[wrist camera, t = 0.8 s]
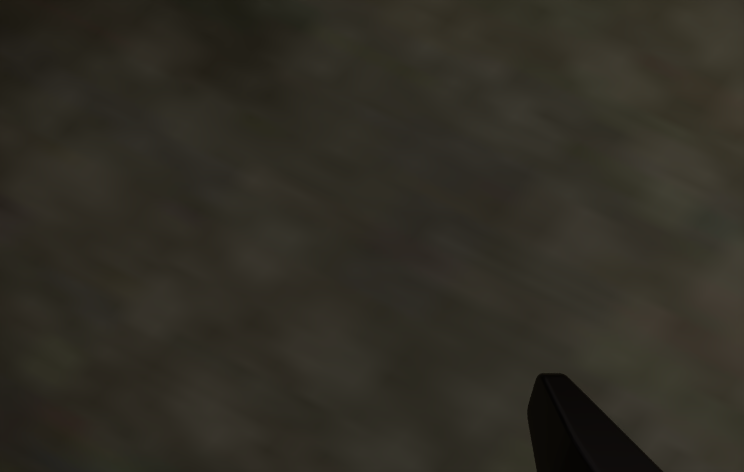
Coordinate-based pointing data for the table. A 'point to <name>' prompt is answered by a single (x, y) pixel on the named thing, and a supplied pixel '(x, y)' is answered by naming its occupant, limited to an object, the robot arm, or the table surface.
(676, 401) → the table surface
